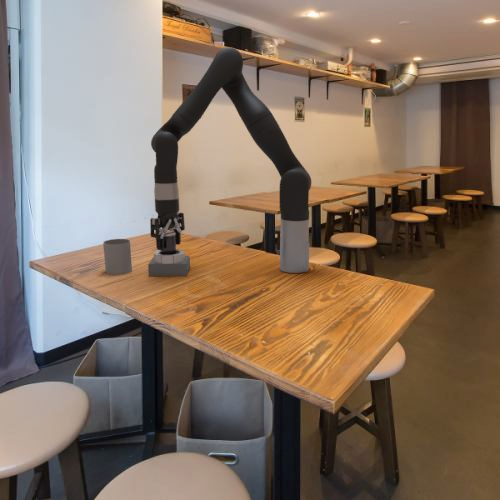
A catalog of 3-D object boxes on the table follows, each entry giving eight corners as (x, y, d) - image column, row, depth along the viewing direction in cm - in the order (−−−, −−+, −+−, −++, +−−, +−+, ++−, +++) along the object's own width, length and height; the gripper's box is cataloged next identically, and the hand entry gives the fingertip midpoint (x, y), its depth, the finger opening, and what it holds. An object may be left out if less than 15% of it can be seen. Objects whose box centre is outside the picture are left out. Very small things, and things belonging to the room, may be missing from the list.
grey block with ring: (189, 266, 147) (189, 248, 146) (186, 275, 138) (186, 256, 136) (154, 267, 147) (153, 248, 145) (148, 276, 137) (147, 256, 136)
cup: (124, 275, 138) (122, 245, 135) (100, 274, 139) (98, 244, 137) (136, 268, 146) (134, 239, 143) (113, 266, 147) (111, 238, 145)
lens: (168, 256, 145) (167, 230, 143) (179, 258, 142) (178, 231, 140) (157, 260, 141) (156, 233, 139) (169, 262, 138) (167, 234, 136)
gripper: (171, 194, 144) (173, 241, 148) (142, 199, 132) (145, 250, 136) (189, 195, 141) (191, 243, 145) (161, 200, 128) (163, 253, 132)
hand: (169, 247), depth 140 cm, fingers open, 8 cm apart
